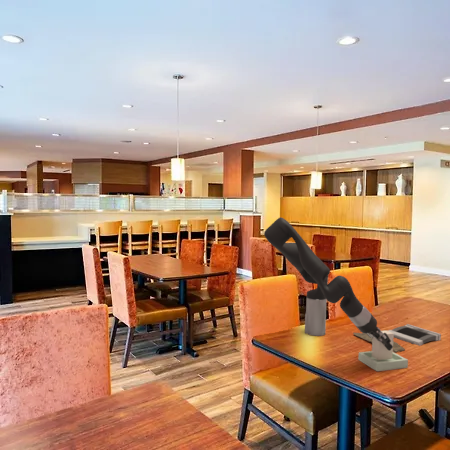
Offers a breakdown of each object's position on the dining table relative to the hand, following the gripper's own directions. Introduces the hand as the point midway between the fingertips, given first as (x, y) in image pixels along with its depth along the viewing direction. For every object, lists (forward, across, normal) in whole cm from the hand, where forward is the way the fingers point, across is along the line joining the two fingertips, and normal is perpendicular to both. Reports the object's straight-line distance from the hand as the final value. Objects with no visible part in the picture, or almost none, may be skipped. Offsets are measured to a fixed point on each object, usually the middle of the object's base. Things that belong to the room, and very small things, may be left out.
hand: (386, 346), depth 156 cm
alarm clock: (+29, -22, +18) cm, 41 cm away
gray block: (+2, 0, -4) cm, 5 cm away
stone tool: (+15, -20, +4) cm, 25 cm away
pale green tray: (+3, 0, -6) cm, 7 cm away
